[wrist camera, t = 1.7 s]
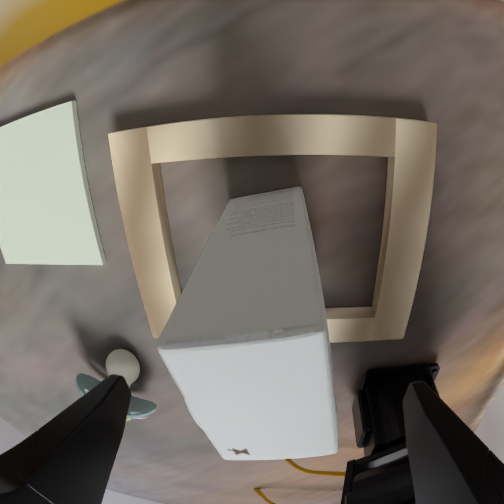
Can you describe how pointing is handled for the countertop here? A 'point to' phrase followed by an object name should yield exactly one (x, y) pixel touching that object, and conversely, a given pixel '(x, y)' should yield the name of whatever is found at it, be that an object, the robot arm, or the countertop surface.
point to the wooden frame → (283, 143)
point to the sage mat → (46, 192)
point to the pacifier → (129, 369)
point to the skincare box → (256, 335)
